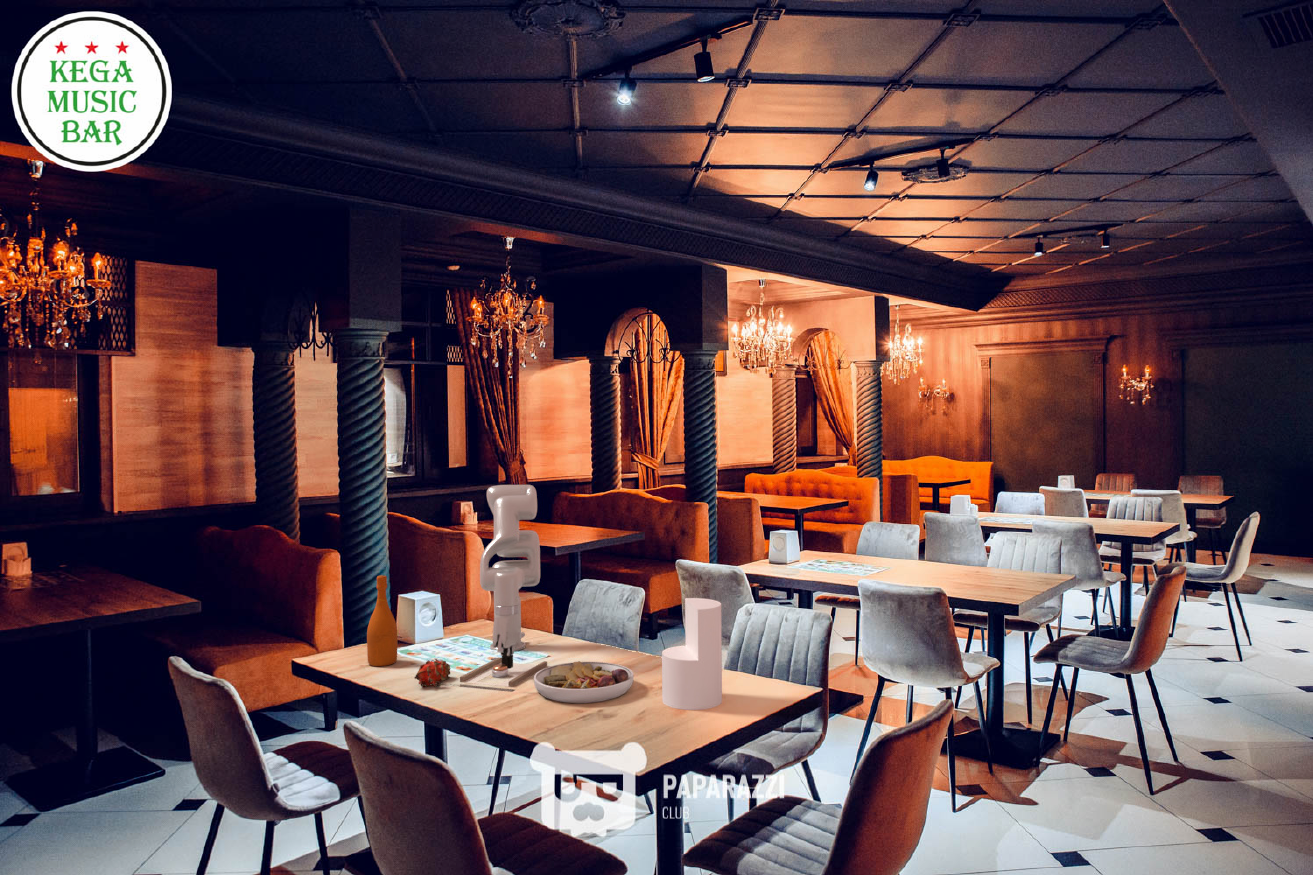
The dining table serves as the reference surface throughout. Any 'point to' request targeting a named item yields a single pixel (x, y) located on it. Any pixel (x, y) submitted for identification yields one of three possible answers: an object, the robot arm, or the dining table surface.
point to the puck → (500, 671)
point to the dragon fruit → (433, 673)
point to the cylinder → (695, 660)
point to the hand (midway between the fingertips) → (507, 667)
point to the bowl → (583, 681)
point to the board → (517, 671)
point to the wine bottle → (382, 630)
